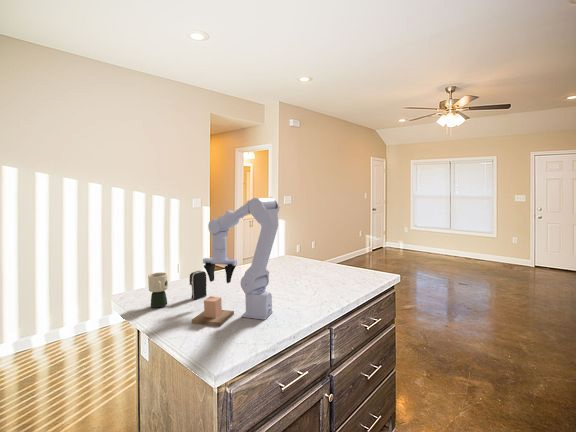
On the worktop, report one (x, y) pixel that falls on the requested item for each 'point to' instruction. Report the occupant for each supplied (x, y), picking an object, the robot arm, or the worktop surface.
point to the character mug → (158, 289)
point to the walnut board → (213, 321)
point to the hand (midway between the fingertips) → (220, 281)
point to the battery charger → (198, 284)
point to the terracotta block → (212, 307)
